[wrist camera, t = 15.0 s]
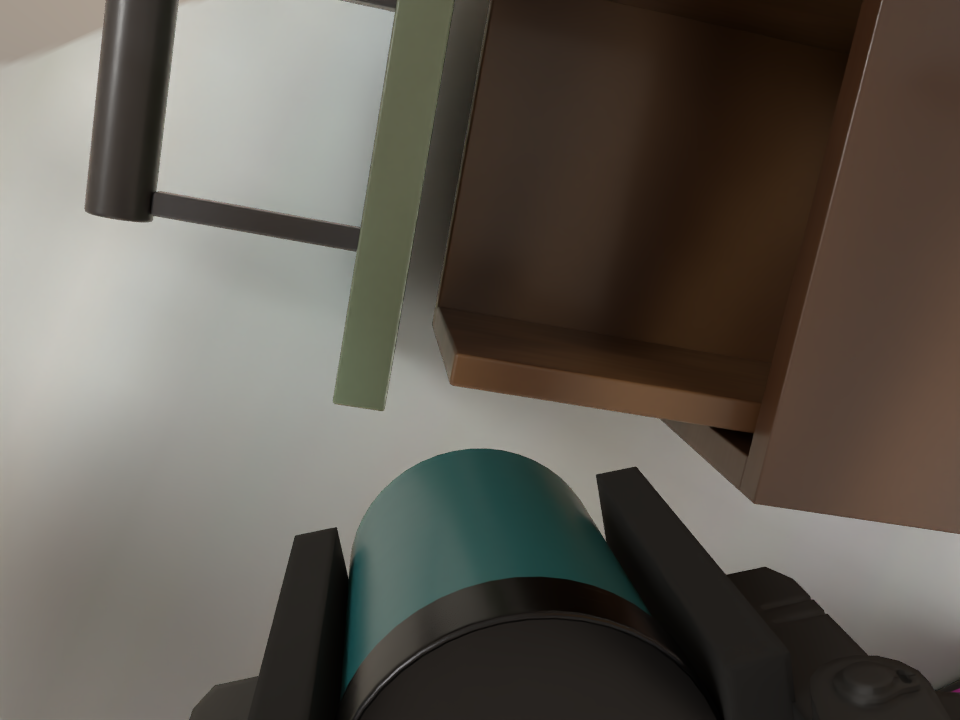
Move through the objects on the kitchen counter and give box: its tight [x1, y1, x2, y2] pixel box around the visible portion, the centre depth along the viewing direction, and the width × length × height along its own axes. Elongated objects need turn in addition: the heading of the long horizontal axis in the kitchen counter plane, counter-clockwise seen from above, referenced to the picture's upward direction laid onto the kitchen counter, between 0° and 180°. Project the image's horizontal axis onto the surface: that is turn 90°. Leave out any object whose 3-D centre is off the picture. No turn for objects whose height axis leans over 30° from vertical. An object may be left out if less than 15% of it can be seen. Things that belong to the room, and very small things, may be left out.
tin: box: [334, 449, 722, 720], centre depth 14 cm, size 5×5×6 cm
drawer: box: [84, 0, 863, 433], centre depth 24 cm, size 22×13×9 cm, turn 79°
